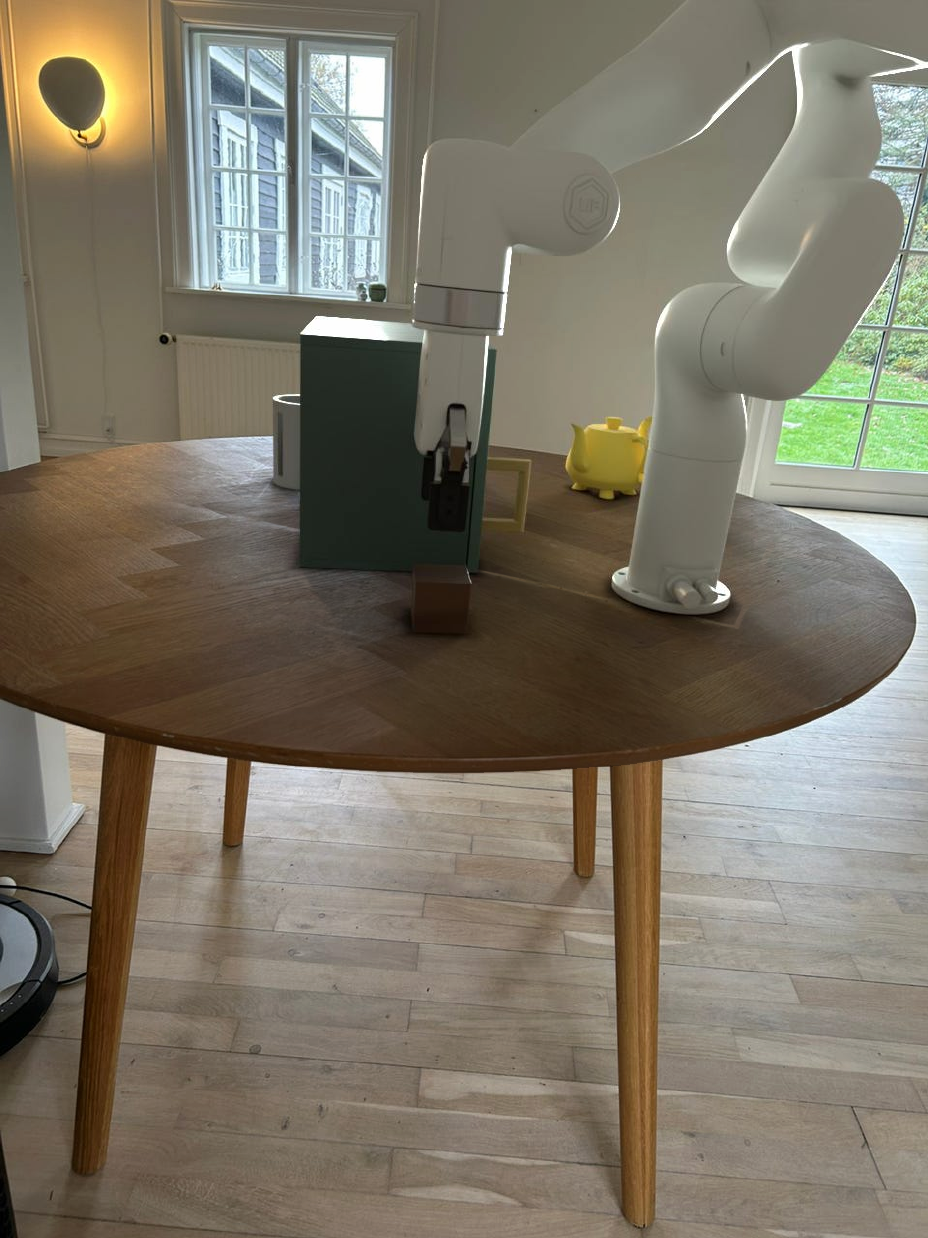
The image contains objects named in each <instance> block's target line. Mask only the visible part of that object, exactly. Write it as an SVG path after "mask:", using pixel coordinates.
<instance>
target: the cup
mask: <svg viewBox="0 0 928 1238" xmlns="http://www.w3.org/2000/svg"><path fill="white" fill-rule="evenodd" d="M272 447H273V448H272V461H273V462H272V463H273V464H272V465H273V466H272V470H273V471H272V472H273V473H272V476H273V483H274V484H275V485H276V486H277V487H281V488H285V489H289V490H298V491H300V394H297V393H296V394H280V395H276V396H273V397H272Z"/></svg>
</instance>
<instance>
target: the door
mask: <svg viewBox="0 0 928 1238" xmlns="http://www.w3.org/2000/svg"><path fill="white" fill-rule="evenodd" d="M497 358H498V349H497V348H496V347H494V346H493V345H491V344H490V343H489V342H488V353H487V365H486V377H485V387H484V398H483V407H482V416H481V424H480V432H479V439H478V446H477V451H476V454H475V461H474V473H473V485H472V497H471V509H470V521H469V534H468V546H467V558H466V568H467V571H468V574H469V573H470V574H478V573H479V562H480V552H481V551H480V549H481V539H482V532H500V533H501V532H502V533H503V532H504V533H523V532H524V531H525V524H526V523H525V522H526V513H527V505H528V504H527V503H528V496H529V495H528V494H529V486H530V477H531V467H532V460H531V459H528V458H516V457H514V458H513V457H496V456H489V451H490V450H489V448H490V437H491V427H492V426H491V425H492V414H493V403H494V392H495V380H496V372H497V371H496V369H497ZM488 471H499V472H515V473H516V472H517V473H518V478H517V486H516V487H517V488H516V497H515V506H514V516H513V517H514V518H501V517H483V516H484V506H485V493H486V482H487V473H488Z"/></svg>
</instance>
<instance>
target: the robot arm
mask: <svg viewBox="0 0 928 1238" xmlns="http://www.w3.org/2000/svg"><path fill="white" fill-rule="evenodd" d="M790 51H791V53H792V61H793V67H794V74H795V84H796V95H797V96H796V97H797V98H796V99H797V103H796V105H797V106H796V115H795V119H794V123H793V127H792V129H791V131H790V133H789V135H788V137H787V139H786V141H785V142H784V144H783V146H782V148H781V149H780V151H779V153H778V154H777V156H776V158H775V159H774V161H773V162H772V164H771V166H770V167H769V169H768V170H767V172H766V173H765V175H764V176H763V178H762V179H761V181H760V182H759V184H758V186H757V188H756V189H755V191H754V192H753V194H752V195H751V197H750V199H749V200H748V202H747V203H746V205H745V207H744V208H743V210H742V212H741V213H740V215H739V217H738V219H737V220H736V221H735V223H734V226H733V228H732V230H731V233H730V236H729V238H728V241H727V247H726V255H727V257H726V258H727V263H728V266H729V268H730V270H731V272H732V273H733V274H734V275H735V276H736V277H737V278H738V279H739V280H741V281H743V282H745V283H746V284H744V283H733V282H704V283H699V284H695V285H693V286H689V287H687V288H685V289H683V290H681V291H680V292H679V293H677V294H676V295H674V297H673V298H671V300H670V301H669V302H668V303H667V304H666V306H665V308H664V309H663V311H662V313H661V314H660V317H659V319H658V322H657V325H656V329H655V336H654V349H653V351H654V352H653V353H654V385H655V386H654V398H653V399H654V400H653V410H652V416H651V417H652V423H651V424H650V431H649V437H648V438H649V439H648V440H649V444H648V450H647V455H646V462H645V468H644V474H643V480H642V485H641V487H640V493H639V500H638V506H637V512H636V519H635V525H634V532H633V537H632V545H631V549H630V557H629V563H628V566H626V567H622V568H620V569H618V570H616V571H615V572H614V573H613V574H612V578H611V585H610V586H611V589H612V590H613V591H614V592H615V593H616V594H617V595H618V596H619V597H620V598H622V599H624V600H625V601H628V602H630V603H632V604H634V605H637V606H640V607H643V608H645V609H646V608H647V609H649V610H654V611H658V612H663V613H670V614H678V615H694V616H695V615H696V616H697V615H708V614H714V613H717V612H721V611H722V610H724V609H725V608H727V606H728V605H729V603H730V598H731V592H730V590H729V589H728V588H727V586H726V585H725V584H723V583H722V582H721V581H719V578H720V572H721V567H722V562H723V557H724V554H725V553H724V552H725V548H726V543H727V538H728V534H729V528H730V525H731V524H730V523H731V517H732V514H733V509H734V503H735V500H736V494H737V490H738V484H739V480H740V476H741V475H740V474H741V469H742V463H743V460H744V457H745V451H746V447H747V438H748V417H747V411H746V405H745V400H744V396H746V397H751V398H756V399H759V400H760V399H761V400H765V401H771V402H772V401H774V402H783V401H789V400H792V399H796V398H798V397H801V396H802V395H804V394H806V392H808V391H809V390H811V388H813V387H814V386H815V385H816V384H818V382H819V381H820V379H822V377H823V376H824V375H825V374H826V372H827V371H828V369H829V368H830V367H831V365H832V364H833V363H834V361H835V360H836V358H837V357H838V355H839V354H840V353H841V351H842V349H843V348H844V346H845V344H846V343H847V341H848V340H849V339H850V337H851V335H852V334H853V332H854V331H855V329H856V328H857V326H858V325H859V324H860V322H861V320H862V319H863V317H864V316H865V314H866V312H867V311H868V309H869V308H870V307H871V305H872V304H873V302H874V300H875V299H876V298H877V295H878V294H879V293H880V291H881V290H882V288H883V286H884V285H885V283H886V282H887V280H888V278H889V277H890V274H891V273H892V271H893V268H894V267H895V264H896V262H897V259H898V256H899V254H900V251H901V246H902V242H903V238H904V230H905V214H904V210H903V209H904V208H903V205H902V201H901V200H900V198H899V195H897V193H896V192H895V191H894V189H893V188H892V187H891V186H890V185H888V184H887V183H885V182H884V181H881V180H878V179H876V178H873V177H870V176H871V174H872V173H873V171H874V169H875V168H876V167H875V166H876V165H877V163H878V160H879V157H880V154H881V152H882V145H883V133H882V124H881V120H880V116H879V113H878V108H877V104H876V100H875V94H874V89H873V84H872V77H873V78H874V77H878V76H884V75H889V74H896V73H901V72H907V71H913V70H920V69H926V68H928V0H685V1H684V2H683V3H682V4H681V5H680V6H679V7H677V9H676V10H675V11H674V12H673V13H671V15H670V16H668V17H667V18H666V19H665V20H664V21H663V22H662V23H661V24H660V25H659V26H658V27H657V28H656V29H655V30H654V31H653V32H652V33H651V34H650V35H648V36H647V37H646V38H645V39H644V40H643V41H642V42H640V43H639V44H638V45H637V46H636V47H635V48H633V49H632V50H631V51H628V52H627V53H626V54H624V55H623V56H621V57H620V58H618V59H617V60H616V61H614V62H613V63H612V64H609V66H607V67H606V68H605V69H604V70H603V71H601V72H600V73H599V74H597V75H596V76H594V78H592V79H591V80H589V81H588V82H587V83H586V84H584V85H582V86H581V87H580V88H579V89H577V90H576V91H574V92H573V93H572V94H570V95H569V96H567V97H566V98H565V99H563V100H562V101H561V102H559V103H558V104H557V105H555V106H554V107H552V109H550V110H549V111H548V112H546V113H545V114H544V115H542V117H541V118H539V119H538V120H537V121H536V122H534V124H532V125H531V126H530V127H529V128H528V129H527V130H526V131H525V132H524V133H522V134H521V135H520V136H519V138H518V139H516V140H515V142H513V143H512V145H511V146H509V147H508V146H506V145H503V144H500V143H496V142H492V141H489V140H488V141H487V140H482V139H474V138H463V137H462V138H461V137H460V138H458V137H457V138H456V137H455V138H454V137H453V138H452V137H451V138H442V139H439V140H436V141H434V142H433V143H431V144H430V145H429V147H427V150H426V152H425V154H424V158H423V164H422V175H421V190H420V191H421V192H420V207H419V219H418V221H419V222H418V237H417V251H416V252H417V253H416V267H415V269H416V270H415V284H414V292H413V293H414V294H413V306H412V307H413V309H412V323H411V324H412V327H414V328H419V329H424V330H425V331H424V337H423V344H422V351H421V360H420V370H419V382H418V395H417V407H416V418H415V428H414V439H415V443H416V447H417V450H418V451H419V452H420V453H421V454H422V455H426V456H427V457H424V463H423V476H422V489H421V497H422V499H423V500H425V501H429V509H428V521H427V526H428V528H429V529H430V530H434V531H450V532H463V531H464V530H465V528H466V518H467V508H468V498H469V487H470V486H469V484H468V482H469V458H470V457H472V456H473V455H475V454H476V451H477V446H478V439H479V432H480V424H481V416H482V407H483V398H484V387H485V377H486V365H487V353H488V343H489V341H490V340H489V339H490V337H501V336H503V334H504V326H505V325H504V324H505V317H506V307H507V297H508V286H509V277H510V268H511V259H512V254H521V255H522V254H523V255H524V254H525V255H527V254H528V255H540V256H547V257H549V256H551V257H572V256H577V255H578V256H579V255H582V254H585V253H588V252H589V251H591V250H594V249H595V248H597V247H598V246H599V245H601V244H602V243H603V242H604V241H605V240H607V238H608V236H609V235H610V234H611V233H612V232H613V229H614V228H615V226H616V224H617V220H618V218H619V214H620V207H621V197H620V191H619V187H618V184H617V182H616V180H615V177H614V176H613V174H614V173H615V172H617V171H619V170H621V169H623V168H626V167H628V166H630V165H632V164H635V163H638V162H640V161H643V160H645V159H649V158H652V157H654V156H657V155H660V154H662V153H665V152H667V151H669V150H672V149H673V148H675V147H678V146H680V145H682V144H683V143H685V142H687V141H689V140H691V139H693V138H696V137H697V136H698V135H700V134H701V133H702V132H703V131H704V130H705V129H707V128H708V127H709V126H710V125H711V124H712V123H713V122H714V121H715V120H716V119H717V118H718V117H719V116H720V115H721V114H722V113H724V111H725V110H726V109H728V107H729V106H730V105H731V104H732V103H733V102H734V101H735V100H736V99H737V98H739V96H740V95H741V94H742V93H743V92H745V90H747V88H748V87H749V86H750V85H752V84H753V83H754V82H755V81H756V80H757V79H758V78H759V77H761V75H762V74H763V73H764V72H766V71H767V69H769V67H770V66H772V65H773V64H774V63H775V62H776V61H777V60H778V59H779V58H780V57H782V56H783V55H785V54H786V53H789V52H790ZM431 457H432V458H431Z"/></svg>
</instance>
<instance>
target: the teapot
mask: <svg viewBox="0 0 928 1238" xmlns="http://www.w3.org/2000/svg"><path fill="white" fill-rule="evenodd" d="M652 417H653V416H649V417H646V418H645V419H643V420H642V422H641V423H640V425H639V427H638V428H637V429H636V428H632V427H629V426H624V425H622V424H623V421H624V419H623V418H621V417H616V416H607V417H605V423H592V424H589V425H588V426H587V427H586V428H583V427H582V426H580V425H578V424H575V423H570V425H571V427H572V428H573V432H574V436H573V441H572V446H571V448H570V450H569V452H568V453H567V454H568V455H567V457H566V461H565V471H566V472H567V475H568V476H569V477H570V479H571V480H572V481H573V482H574V484H573V486H572V487H571V489H573V490H576V491H586V490H587V489H588V488H592V489H598V490H599V494H598V497H599V498H602V499H606V500H613V499H614V498H615V496H614V495H615V494H614V493H615V491H621V493H622V494H623V495H629V496H635V495H637V492H636V491H635V489H638V488H639V487H640V486H642V480H643V474H644V468H645V462H646V455H647V450H648V444H649V439H648V438H649V437H648V436H649V435H648V434H649V430H650V428H651V425H652Z"/></svg>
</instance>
